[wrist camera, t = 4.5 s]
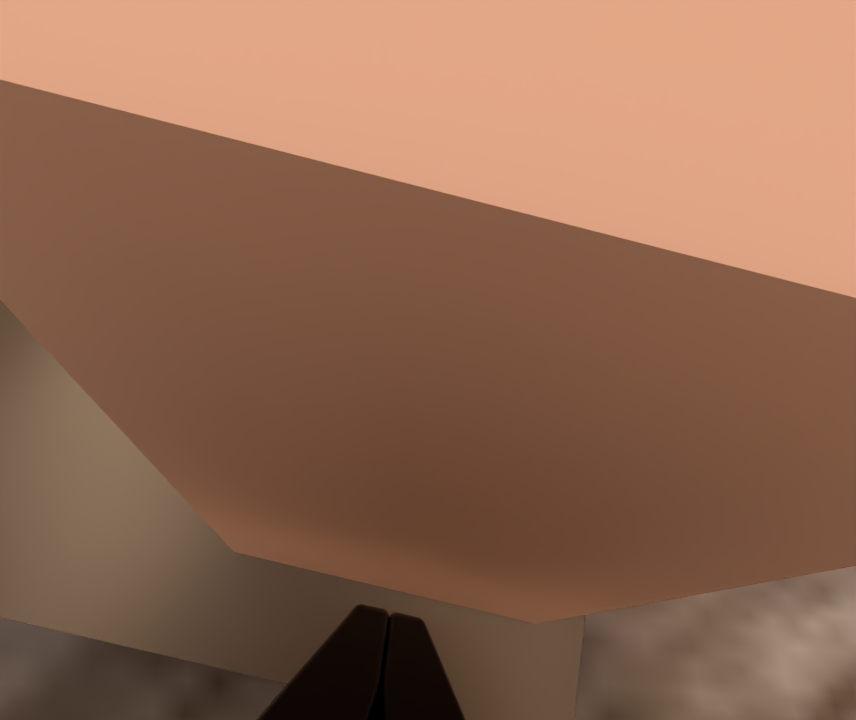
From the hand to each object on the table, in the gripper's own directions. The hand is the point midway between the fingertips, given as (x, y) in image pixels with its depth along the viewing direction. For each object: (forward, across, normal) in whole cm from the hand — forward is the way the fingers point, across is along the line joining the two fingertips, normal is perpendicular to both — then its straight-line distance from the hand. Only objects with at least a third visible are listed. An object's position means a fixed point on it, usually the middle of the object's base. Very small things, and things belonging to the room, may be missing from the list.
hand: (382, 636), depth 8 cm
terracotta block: (+6, 0, 0) cm, 6 cm away
